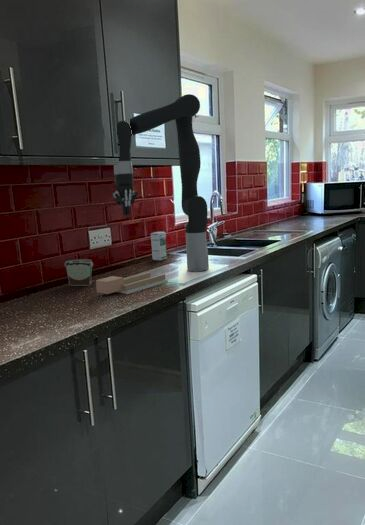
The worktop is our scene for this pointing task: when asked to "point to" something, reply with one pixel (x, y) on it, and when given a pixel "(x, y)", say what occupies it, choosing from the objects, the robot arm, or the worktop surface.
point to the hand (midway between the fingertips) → (126, 215)
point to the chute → (141, 282)
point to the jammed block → (109, 284)
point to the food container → (79, 272)
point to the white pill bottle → (159, 245)
